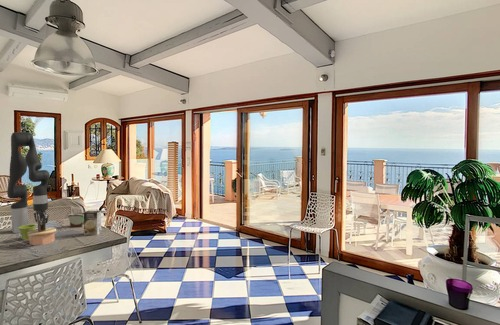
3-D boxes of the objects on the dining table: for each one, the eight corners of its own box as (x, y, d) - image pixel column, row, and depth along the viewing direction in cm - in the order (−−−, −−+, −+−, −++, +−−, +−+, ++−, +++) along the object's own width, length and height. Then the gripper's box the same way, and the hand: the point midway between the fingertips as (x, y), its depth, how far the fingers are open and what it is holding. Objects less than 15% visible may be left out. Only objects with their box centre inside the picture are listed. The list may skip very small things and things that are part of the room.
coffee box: (83, 236, 198) (82, 212, 197) (88, 233, 204) (87, 210, 203) (97, 235, 198) (96, 212, 197) (101, 233, 205) (101, 210, 204)
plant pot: (22, 242, 185) (22, 229, 185) (16, 240, 190) (15, 227, 190) (39, 238, 193) (39, 225, 193) (33, 236, 198) (32, 223, 198)
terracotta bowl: (26, 244, 182) (26, 234, 182) (48, 238, 193) (47, 229, 192) (36, 247, 176) (35, 237, 176) (57, 241, 186) (57, 232, 186)
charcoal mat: (45, 236, 197) (45, 235, 197) (71, 230, 212) (71, 229, 212) (59, 240, 189) (58, 239, 188) (85, 233, 203) (85, 232, 203)
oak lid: (22, 234, 181) (21, 222, 181) (48, 228, 194) (48, 217, 194) (34, 237, 174) (33, 226, 173) (61, 231, 187) (60, 220, 186)
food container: (89, 225, 224) (88, 212, 224) (84, 227, 218) (83, 214, 218) (74, 225, 226) (73, 212, 225) (68, 227, 219) (68, 214, 219)
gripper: (28, 202, 183) (29, 229, 184) (39, 204, 176) (40, 232, 177) (41, 200, 190) (42, 226, 191) (52, 202, 183) (54, 229, 184)
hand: (41, 229), depth 184 cm, fingers closed on oak lid, 3 cm apart
